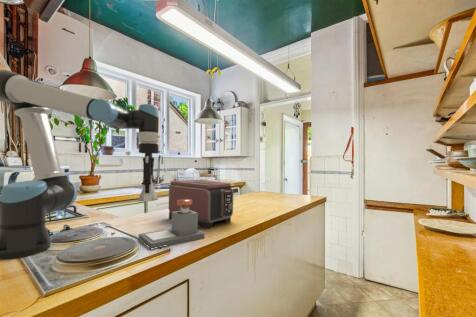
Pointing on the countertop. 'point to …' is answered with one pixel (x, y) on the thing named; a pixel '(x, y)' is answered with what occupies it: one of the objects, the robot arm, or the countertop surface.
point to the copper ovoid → (184, 205)
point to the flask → (153, 194)
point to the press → (175, 231)
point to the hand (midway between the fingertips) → (148, 199)
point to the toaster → (203, 200)
